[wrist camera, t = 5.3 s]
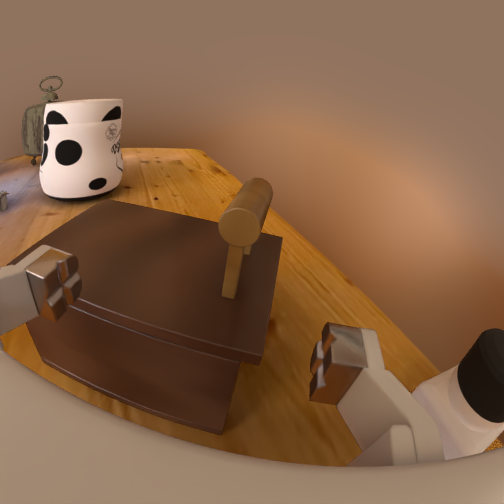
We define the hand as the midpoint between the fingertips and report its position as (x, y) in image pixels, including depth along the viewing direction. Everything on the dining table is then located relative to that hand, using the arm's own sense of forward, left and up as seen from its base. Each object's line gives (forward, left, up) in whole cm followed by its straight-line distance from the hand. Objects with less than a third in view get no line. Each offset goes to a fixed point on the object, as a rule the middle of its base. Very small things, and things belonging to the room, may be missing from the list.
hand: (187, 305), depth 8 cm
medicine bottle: (+3, -18, -14) cm, 23 cm away
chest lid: (+9, +5, -5) cm, 11 cm away
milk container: (+37, +36, -14) cm, 53 cm away
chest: (+9, +6, -14) cm, 17 cm away
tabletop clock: (+50, +61, -14) cm, 80 cm away
